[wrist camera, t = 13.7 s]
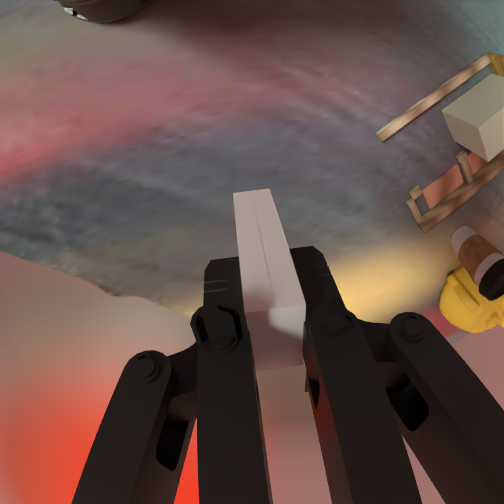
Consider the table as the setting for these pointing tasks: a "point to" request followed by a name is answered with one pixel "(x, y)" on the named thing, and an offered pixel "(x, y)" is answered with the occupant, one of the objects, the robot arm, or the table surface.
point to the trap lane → (468, 162)
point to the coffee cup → (480, 261)
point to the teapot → (469, 304)
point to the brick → (479, 118)
